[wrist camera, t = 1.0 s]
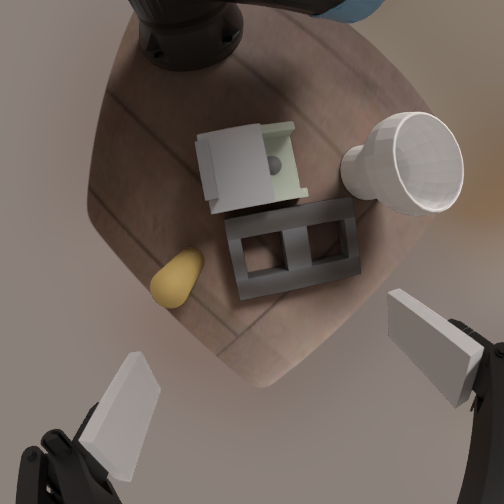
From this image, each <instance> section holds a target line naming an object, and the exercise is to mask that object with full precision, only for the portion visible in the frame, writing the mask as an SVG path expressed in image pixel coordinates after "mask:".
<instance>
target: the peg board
mask: <svg viewBox="0 0 504 504" xmlns="http://www.w3.org/2000/svg"><path fill="white" fill-rule="evenodd" d="M331 221H337V227H338V234H339V242H340V250H341V254H337V255H332V256H327V257H322V258H318V259H313V260H312V259H311V252H310V246H309V239H308V232H307V226H309V225H315V224H320V223H326V222H331ZM224 225H225V230H226V235H227V240H228V245H229V250H230V254H231V259H232V264H233V269H234V273H235V278H236V283H237V287H238V292H239V297H240V300H245V299H250V298H255V297H260V296H265V295H270V294H275V293H280V292H285V291H290V290H294V289H299V288H304V287H308V286H313V285H317V284H322V283H326V282H330V281H335V280H339V279H343V278H347V277H351V276H355V275H359V274H361V267H360V255H359V245H358V236H357V228H356V220H355V213H354V206H353V199H352V197H346V198H337V199H331V200H324V201H318V202H312V203H306V204H300V205H295V206H289V207H283V208H278V209H272V210H267V211H261V212H256V213H251V214H245V215H240V216H235V217H230V218H225V219H224ZM277 231H279V234H280V240H281V246H282V251H283V257H284V263H285V265H284V266H279V267H274V268H269V269H264V270H259V271H254V272H247V267H246V262H245V257H244V252H243V247H242V242H241V238H246V237H251V236H256V235H261V234H267V233H272V232H277Z"/></svg>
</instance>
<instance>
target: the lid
mask: <svg viewBox="0 0 504 504" xmlns="http://www.w3.org/2000/svg"><path fill="white" fill-rule="evenodd" d="M195 148H196V154H197V159H198V165H199V170H200V176H201V181H202V186H203V191H204V197H205V201H209V205H210V210H211V214H216V213H221V212H226V211H231V210H236V209H241V208H246V207H251V206H257V205H262V204H267V203H273V202H275V197H274V191H273V186H272V181H271V175H270V170H269V165H268V160H267V155H266V150H265V145H264V140H263V136H262V131H261V126H260V123H256V124H250V125H244V126H238V127H233V128H227V129H222V130H217V131H212V132H207V133H203V134H198V135H197V141H196V142H195Z"/></svg>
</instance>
